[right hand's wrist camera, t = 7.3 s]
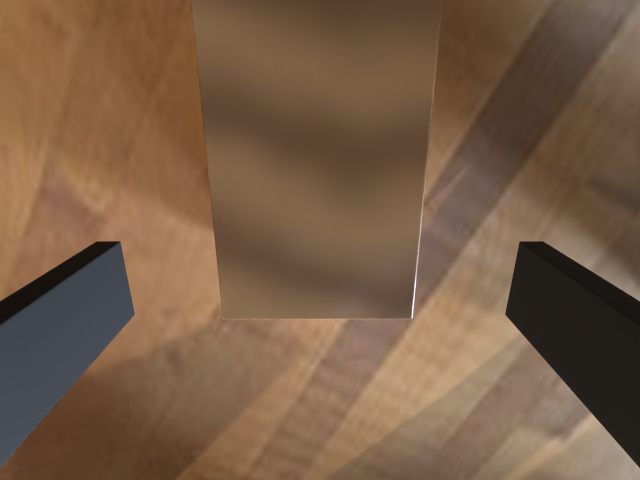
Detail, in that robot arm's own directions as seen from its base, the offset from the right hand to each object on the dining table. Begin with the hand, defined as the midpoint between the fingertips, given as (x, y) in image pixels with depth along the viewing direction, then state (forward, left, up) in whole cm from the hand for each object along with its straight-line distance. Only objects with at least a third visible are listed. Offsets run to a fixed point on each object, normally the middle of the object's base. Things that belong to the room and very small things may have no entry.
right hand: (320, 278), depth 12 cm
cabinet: (+3, -3, -15) cm, 16 cm away
